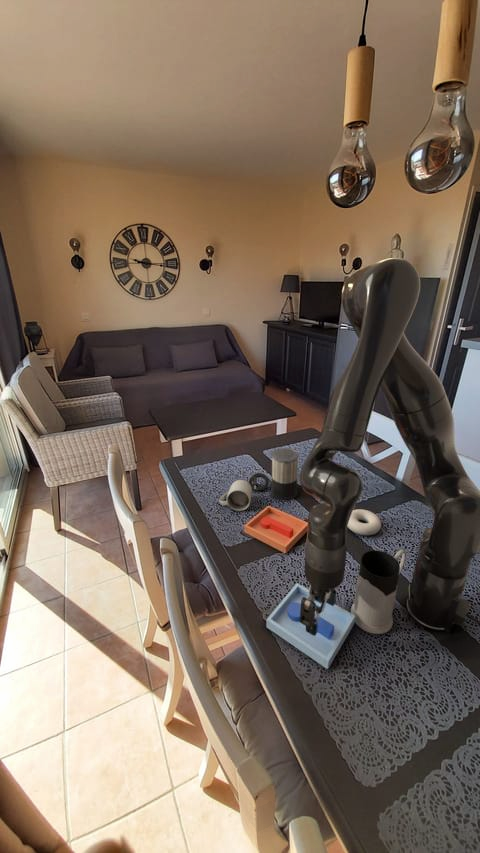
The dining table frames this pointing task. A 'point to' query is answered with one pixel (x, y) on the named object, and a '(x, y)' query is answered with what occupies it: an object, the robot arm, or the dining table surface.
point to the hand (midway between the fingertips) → (320, 617)
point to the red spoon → (276, 526)
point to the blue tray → (304, 641)
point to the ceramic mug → (238, 496)
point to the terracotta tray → (272, 536)
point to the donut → (364, 528)
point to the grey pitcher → (376, 590)
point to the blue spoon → (323, 625)
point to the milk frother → (280, 474)
